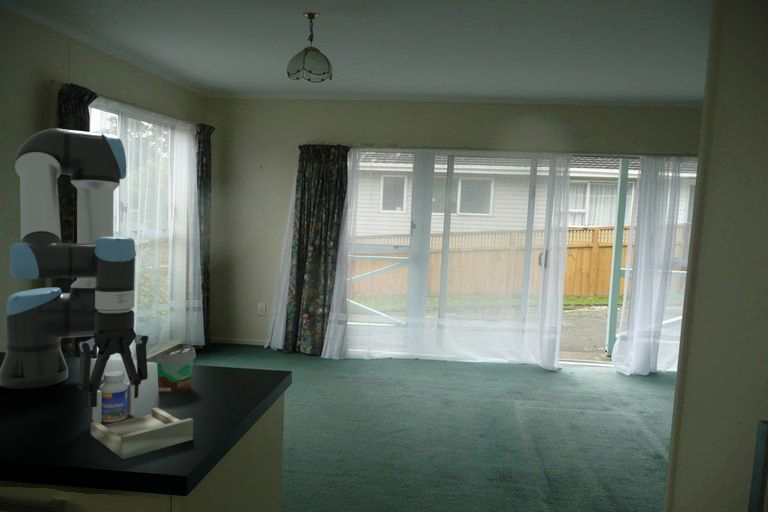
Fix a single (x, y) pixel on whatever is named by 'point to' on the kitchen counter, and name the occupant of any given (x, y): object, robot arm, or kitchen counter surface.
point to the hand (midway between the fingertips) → (113, 417)
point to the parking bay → (143, 433)
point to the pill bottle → (114, 397)
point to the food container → (175, 370)
